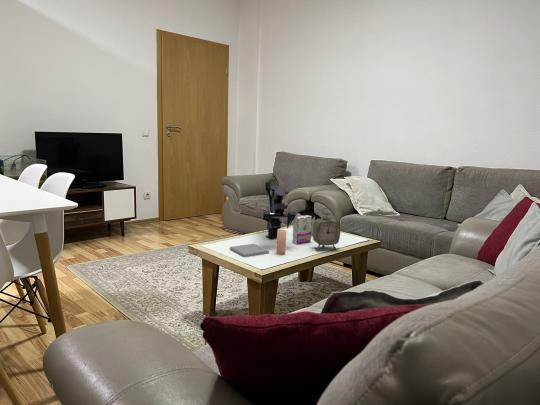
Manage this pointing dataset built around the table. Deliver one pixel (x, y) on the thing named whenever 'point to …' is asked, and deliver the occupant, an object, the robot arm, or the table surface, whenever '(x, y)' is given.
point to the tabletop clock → (326, 230)
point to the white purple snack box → (312, 219)
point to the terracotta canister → (281, 242)
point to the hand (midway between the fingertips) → (279, 228)
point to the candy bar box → (302, 229)
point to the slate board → (249, 250)
